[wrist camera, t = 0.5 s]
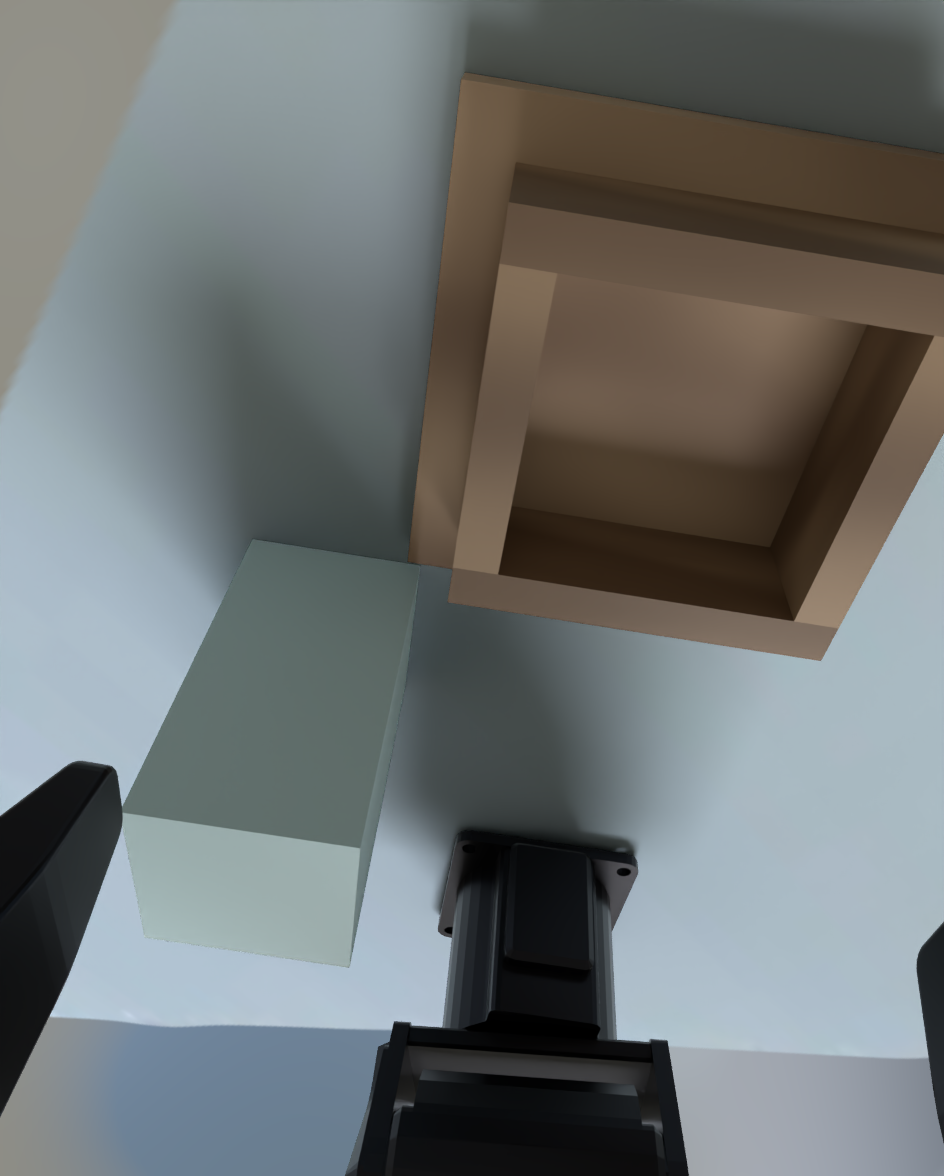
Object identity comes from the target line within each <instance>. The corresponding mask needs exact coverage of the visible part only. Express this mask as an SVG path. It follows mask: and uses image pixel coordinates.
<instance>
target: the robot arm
mask: <svg viewBox="0 0 944 1176" xmlns="http://www.w3.org/2000/svg"><path fill="white" fill-rule="evenodd" d="M122 822H123V812H122V805H121V797H120V790H119V783H118V776H117V772H116V770H115V769H114V768H113V767H112V766H109V765H104V764H98V763H93V762H87V761H76V762H72V763H70V764H68V765H67V766H65V767H64V768H63V769H61V770H60V771H59V772H58V773H56V774H55V775H54V776H52V777H51V778H50V779H48V780H47V781H46V782H44V783H43V784H42V785H40V786H39V787H38V788H36V789H35V790H34V791H32V792H31V793H30V794H29V795H27V796H26V797H25V798H23V799H22V800H21V801H19V802H18V803H17V804H15V805H14V806H13V807H11V808H10V809H9V810H7V811H6V812H5V813H4V814H2V815H1V816H0V1116H1V1114H2V1112H3V1110H4V1108H5V1106H6V1104H7V1102H8V1100H9V1098H10V1096H11V1094H12V1092H13V1090H14V1088H15V1086H16V1084H17V1082H18V1079H19V1078H20V1076H21V1074H22V1071H23V1069H24V1067H25V1065H26V1063H27V1061H28V1059H29V1057H30V1055H31V1053H32V1051H33V1049H34V1046H35V1045H36V1043H37V1041H38V1038H39V1037H40V1035H41V1033H42V1030H43V1028H44V1026H45V1024H46V1022H47V1020H48V1018H49V1016H50V1014H51V1012H52V1010H53V1008H54V1006H55V1004H56V1002H57V1000H58V998H59V995H60V993H61V991H62V989H63V987H64V985H65V982H66V980H67V978H68V976H69V973H70V971H71V968H72V965H73V963H74V960H75V958H76V955H77V952H78V950H79V947H80V944H81V941H82V938H83V936H84V933H85V930H86V927H87V925H88V922H89V919H90V916H91V913H92V911H93V908H94V905H95V902H96V900H97V897H98V894H99V891H100V889H101V886H102V883H103V880H104V877H105V875H106V872H107V869H108V866H109V864H110V861H111V858H112V855H113V853H114V850H115V847H116V844H117V841H118V839H119V836H120V832H121V828H122ZM637 875H638V864H637V860H636V858H635V857H633V856H632V855H628V854H623V853H616V852H610V851H603V850H597V849H590V848H583V847H577V846H570V845H563V844H557V843H550V842H544V841H537V840H530V839H524V838H517V837H511V836H504V835H497V834H491V833H484V832H478V831H462V832H460V833H459V834H458V835H457V837H456V841H455V846H454V850H453V855H452V860H451V865H450V870H449V874H448V879H447V884H446V889H445V894H444V898H443V903H442V908H441V913H440V918H439V925H438V932H439V933H440V934H442V935H444V936H446V937H451V938H452V942H451V951H450V961H449V970H448V980H447V989H446V998H445V1008H444V1017H443V1027H442V1028H440V1027H426V1026H411V1022H398V1021H394V1024H393V1029H392V1033H391V1038H390V1042H388V1043H386V1044H383V1045H381V1046H379V1047H378V1051H377V1057H376V1063H375V1070H374V1077H373V1082H372V1087H371V1093H370V1097H369V1102H368V1106H367V1109H366V1113H365V1115H364V1119H363V1122H362V1125H361V1128H360V1131H359V1134H358V1137H357V1140H356V1143H355V1146H354V1149H353V1152H352V1155H351V1159H350V1162H349V1165H348V1168H347V1171H346V1174H345V1176H689V1174H688V1166H687V1159H686V1153H685V1147H684V1141H683V1134H682V1128H681V1122H680V1116H679V1109H678V1103H677V1097H676V1091H675V1085H674V1079H673V1072H672V1066H671V1059H670V1053H669V1047H668V1041H667V1040H657V1039H650V1040H649V1042H640V1041H626V1040H617V1033H616V1013H615V992H614V972H613V951H612V930H613V928H614V926H615V923H616V921H617V919H618V917H619V914H620V912H621V910H622V908H623V906H624V903H625V901H626V899H627V897H628V895H629V892H630V890H631V888H632V886H633V883H634V881H635V879H636V877H637ZM917 977H918V984H919V991H920V998H921V1005H922V1013H923V1020H924V1027H925V1034H926V1041H927V1048H928V1055H929V1062H930V1069H931V1077H932V1084H933V1091H934V1097H935V1103H936V1109H937V1114H938V1119H939V1124H940V1128H941V1133H942V1137H943V1142H944V922H943V923H942V924H941V925H940V927H939V928H938V929H937V930H936V931H935V932H934V933H933V934H932V936H931V937H930V938H929V939H928V940H927V941H926V942H925V943H924V945H923V946H922V947H921V949H920V951H919V954H918V958H917Z"/></svg>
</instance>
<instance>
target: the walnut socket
mask: <svg viewBox="0 0 944 1176" xmlns="http://www.w3.org/2000/svg"><path fill="white" fill-rule="evenodd" d="M943 434H944V154H942V153H937V152H931V151H925V150H919V149H913V148H907V147H901V146H895V145H889V144H884V143H878V142H872V141H866V140H860V139H854V138H848V137H842V136H837V135H831V134H825V133H819V132H813V131H807V130H801V129H795V128H790V127H784V126H778V125H772V124H766V123H760V122H754V121H748V120H742V119H737V118H731V117H725V116H719V115H713V114H707V113H701V112H695V111H690V110H684V109H678V108H672V107H666V106H660V105H654V104H648V103H643V102H637V101H631V100H625V99H619V98H613V97H607V96H601V95H595V94H590V93H584V92H578V91H572V90H566V89H560V88H554V87H548V86H543V85H537V84H531V83H525V82H519V81H513V80H507V79H501V78H495V77H490V76H484V75H478V74H472V73H466V72H465V73H464V75H463V77H462V78H461V85H460V94H459V103H458V112H457V121H456V130H455V139H454V148H453V157H452V166H451V175H450V184H449V193H448V202H447V211H446V220H445V229H444V238H443V247H442V256H441V265H440V274H439V283H438V292H437V301H436V310H435V319H434V328H433V337H432V346H431V355H430V364H429V373H428V382H427V391H426V400H425V409H424V418H423V427H422V436H421V445H420V454H419V463H418V472H417V481H416V490H415V499H414V508H413V517H412V526H411V535H410V544H409V553H408V562H411V563H417V564H423V565H430V566H436V567H442V568H449V569H452V576H451V582H450V589H449V595H448V602H449V603H455V604H461V605H468V606H474V607H481V608H487V609H493V610H500V611H506V612H512V613H519V614H525V615H532V616H538V617H544V618H551V619H557V620H563V621H570V622H576V623H582V624H589V625H595V626H602V627H608V628H614V629H621V630H627V631H633V632H640V633H646V634H653V635H659V636H665V637H672V638H678V639H684V640H691V641H697V642H704V643H710V644H716V645H723V646H729V647H735V648H742V649H748V650H754V651H761V652H767V653H774V654H780V655H786V656H793V657H799V658H805V659H812V660H818V661H821V660H822V658H823V656H824V654H825V652H826V651H827V649H828V647H829V645H830V643H831V641H832V639H833V638H834V636H835V634H836V632H837V630H838V628H839V627H840V625H841V623H842V621H843V619H844V617H845V615H846V614H847V612H848V610H849V608H850V606H851V604H852V602H853V601H854V599H855V597H856V595H857V593H858V591H859V589H860V588H861V586H862V584H863V582H864V580H865V578H866V576H867V575H868V573H869V571H870V569H871V567H872V565H873V564H874V562H875V560H876V558H877V556H878V554H879V552H880V551H881V549H882V547H883V545H884V543H885V541H886V539H887V538H888V536H889V534H890V532H891V530H892V528H893V526H894V525H895V523H896V521H897V519H898V517H899V515H900V513H901V512H902V510H903V508H904V506H905V504H906V502H907V500H908V499H909V497H910V495H911V493H912V491H913V489H914V488H915V486H916V484H917V482H918V480H919V478H920V476H921V475H922V473H923V471H924V469H925V467H926V465H927V463H928V462H929V460H930V458H931V456H932V454H933V452H934V450H935V449H936V447H937V445H938V443H939V441H940V439H941V437H942V436H943Z"/></svg>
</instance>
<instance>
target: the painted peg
mask: <svg viewBox="0 0 944 1176" xmlns="http://www.w3.org/2000/svg"><path fill="white" fill-rule="evenodd" d="M419 573H420V565H414V564H408V563H401V562H395V561H389V560H382V559H376V558H370V557H363V556H357V555H351V554H344V553H338V552H332V551H325V550H319V549H313V548H306V547H300V546H294V545H287V544H281V543H275V542H268V541H262V540H255V539H252V541H251V543H250V545H249V547H248V549H247V551H246V553H245V556H244V558H243V560H242V562H241V564H240V566H239V568H238V570H237V572H236V574H235V576H234V578H233V580H232V582H231V584H230V586H229V588H228V591H227V593H226V595H225V597H224V599H223V601H222V603H221V605H220V607H219V609H218V611H217V613H216V615H215V617H214V619H213V621H212V623H211V626H210V628H209V630H208V632H207V634H206V636H205V638H204V640H203V642H202V644H201V646H200V648H199V650H198V652H197V654H196V656H195V658H194V661H193V663H192V665H191V667H190V669H189V671H188V673H187V675H186V677H185V679H184V681H183V683H182V685H181V687H180V689H179V691H178V693H177V695H176V698H175V700H174V702H173V704H172V706H171V708H170V710H169V712H168V714H167V716H166V718H165V720H164V722H163V724H162V726H161V728H160V730H159V733H158V735H157V737H156V739H155V741H154V743H153V745H152V747H151V749H150V751H149V753H148V755H147V757H146V759H145V761H144V763H143V765H142V768H141V770H140V772H139V774H138V776H137V778H136V780H135V782H134V784H133V786H132V788H131V790H130V792H129V794H128V796H127V798H126V800H125V803H124V805H123V807H122V812H123V822H122V826H123V831H124V836H125V841H126V846H127V851H128V856H129V861H130V866H131V871H132V876H133V881H134V887H135V892H136V897H137V902H138V907H139V912H140V917H141V922H142V927H143V932H144V937H145V938H150V939H157V940H164V941H170V942H177V943H184V944H191V945H198V946H204V947H211V948H218V949H225V950H231V951H238V952H245V953H252V954H259V955H265V956H272V957H279V958H286V959H293V960H299V961H306V962H313V963H320V964H326V965H333V966H340V967H347V968H349V967H350V962H351V957H352V952H353V947H354V942H355V937H356V932H357V927H358V922H359V917H360V912H361V907H362V902H363V897H364V891H365V886H366V881H367V876H368V871H369V866H370V861H371V856H372V851H373V846H374V841H375V836H376V831H377V826H378V821H379V816H380V811H381V806H382V801H383V796H384V791H385V786H386V781H387V776H388V771H389V766H390V761H391V756H392V751H393V746H394V741H395V736H396V731H397V726H398V721H399V716H400V711H401V706H402V701H403V696H404V691H405V686H406V678H407V670H408V662H409V654H410V646H411V638H412V630H413V622H414V614H415V606H416V597H417V589H418V581H419Z"/></svg>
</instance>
